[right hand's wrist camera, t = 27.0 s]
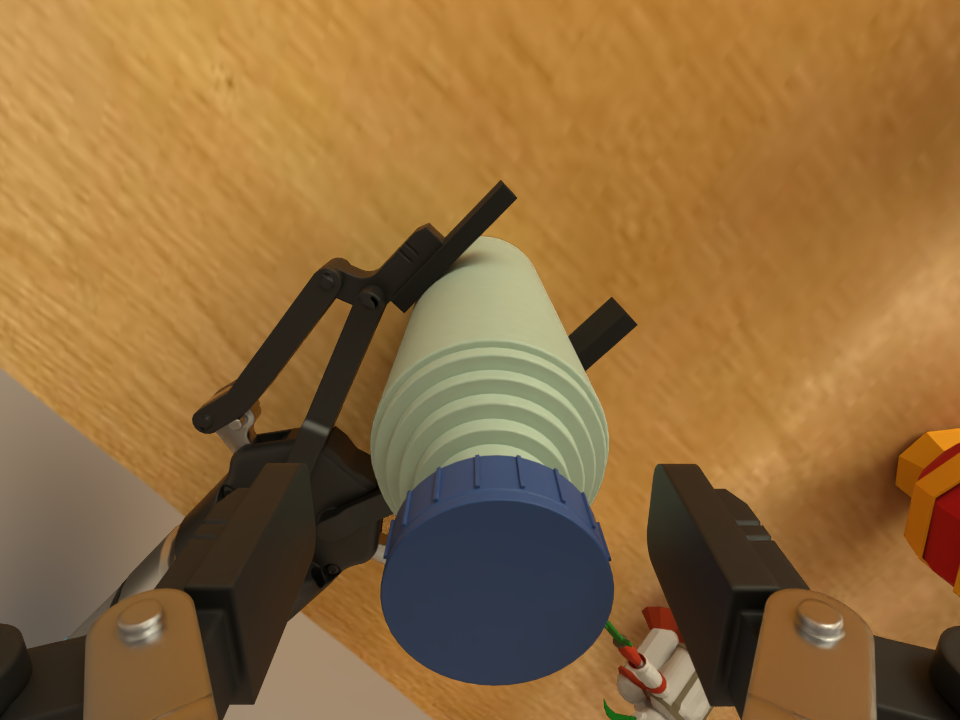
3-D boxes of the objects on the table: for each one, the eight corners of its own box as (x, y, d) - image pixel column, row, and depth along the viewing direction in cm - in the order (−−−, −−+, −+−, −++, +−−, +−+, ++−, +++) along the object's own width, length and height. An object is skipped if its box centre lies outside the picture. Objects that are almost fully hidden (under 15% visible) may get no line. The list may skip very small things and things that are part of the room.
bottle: (565, 297, 32) (729, 574, 12) (479, 374, 34) (489, 740, 13) (483, 209, 31) (503, 351, 10) (397, 294, 32) (260, 570, 11)
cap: (590, 627, 13) (605, 689, 12) (392, 625, 13) (381, 687, 12) (609, 453, 12) (629, 499, 10) (385, 450, 12) (371, 496, 10)
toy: (843, 671, 39) (721, 888, 34) (758, 631, 45) (643, 810, 40) (726, 499, 34) (564, 721, 29) (648, 479, 40) (501, 661, 35)
